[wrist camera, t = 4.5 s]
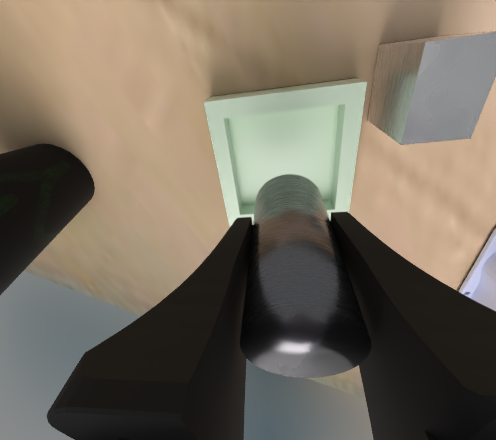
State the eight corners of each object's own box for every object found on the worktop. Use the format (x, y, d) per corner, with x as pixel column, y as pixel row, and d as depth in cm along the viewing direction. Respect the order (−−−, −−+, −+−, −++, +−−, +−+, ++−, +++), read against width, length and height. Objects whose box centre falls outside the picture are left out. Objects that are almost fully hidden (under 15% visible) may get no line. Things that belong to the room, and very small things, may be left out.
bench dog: (417, 114, 15) (470, 138, 11) (367, 120, 16) (400, 144, 12) (438, 36, 13) (514, 29, 9) (378, 44, 13) (425, 41, 9)
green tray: (341, 205, 19) (347, 220, 18) (232, 212, 21) (229, 226, 19) (356, 78, 14) (367, 81, 13) (210, 96, 16) (203, 102, 14)
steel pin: (317, 231, 12) (355, 381, 7) (256, 229, 13) (243, 373, 7) (326, 174, 11) (389, 313, 5) (254, 174, 11) (235, 306, 5)
